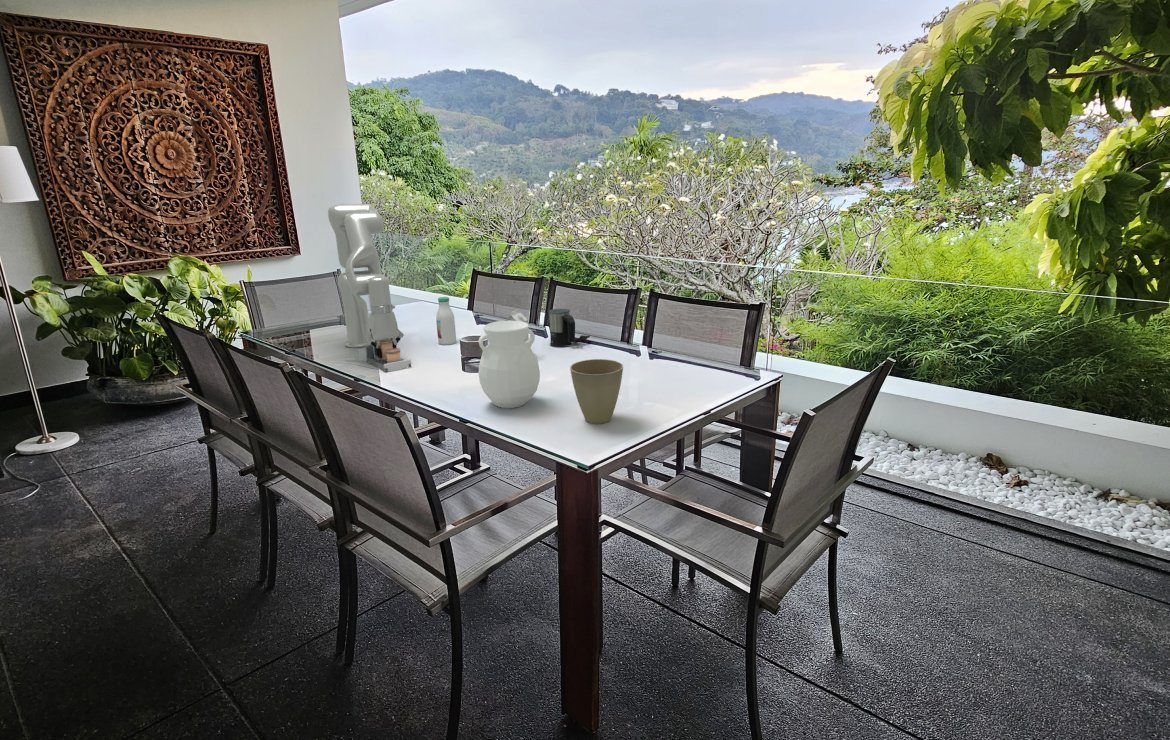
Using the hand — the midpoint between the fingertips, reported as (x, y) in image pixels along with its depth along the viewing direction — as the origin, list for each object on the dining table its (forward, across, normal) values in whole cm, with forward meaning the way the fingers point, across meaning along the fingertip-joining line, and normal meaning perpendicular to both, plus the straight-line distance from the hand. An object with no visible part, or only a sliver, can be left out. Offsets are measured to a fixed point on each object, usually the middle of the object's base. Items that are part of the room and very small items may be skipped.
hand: (387, 355), depth 237 cm
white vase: (+4, -13, +71) cm, 72 cm away
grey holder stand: (+3, 0, +1) cm, 3 cm away
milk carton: (+4, -42, +27) cm, 50 cm away
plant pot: (+4, -25, +99) cm, 102 cm away
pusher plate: (+3, 0, -7) cm, 8 cm away
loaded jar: (+3, 0, +7) cm, 8 cm away
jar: (+1, 0, 0) cm, 1 cm away
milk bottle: (+3, -32, -15) cm, 36 cm away
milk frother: (+4, -71, +22) cm, 74 cm away
